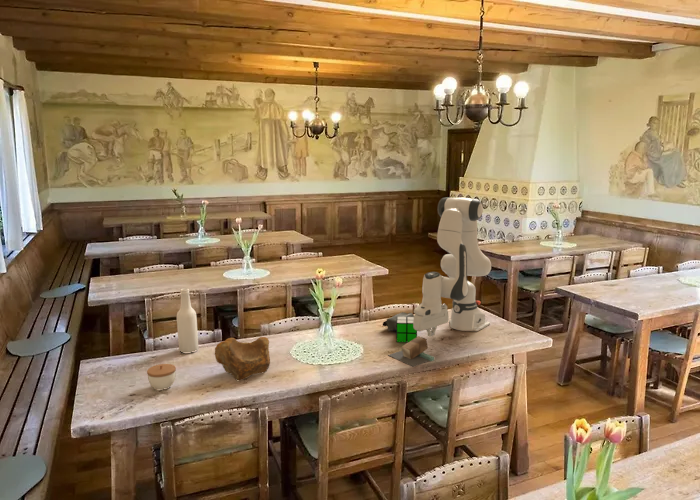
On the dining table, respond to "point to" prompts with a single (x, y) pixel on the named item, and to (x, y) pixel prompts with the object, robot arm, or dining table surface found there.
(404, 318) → the puzzle cube
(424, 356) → the rail
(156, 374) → the lidded jar
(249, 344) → the rough brown rock
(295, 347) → the dining table surface
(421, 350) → the walnut block
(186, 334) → the alcohol
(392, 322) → the grey rounded lump
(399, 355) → the mat
